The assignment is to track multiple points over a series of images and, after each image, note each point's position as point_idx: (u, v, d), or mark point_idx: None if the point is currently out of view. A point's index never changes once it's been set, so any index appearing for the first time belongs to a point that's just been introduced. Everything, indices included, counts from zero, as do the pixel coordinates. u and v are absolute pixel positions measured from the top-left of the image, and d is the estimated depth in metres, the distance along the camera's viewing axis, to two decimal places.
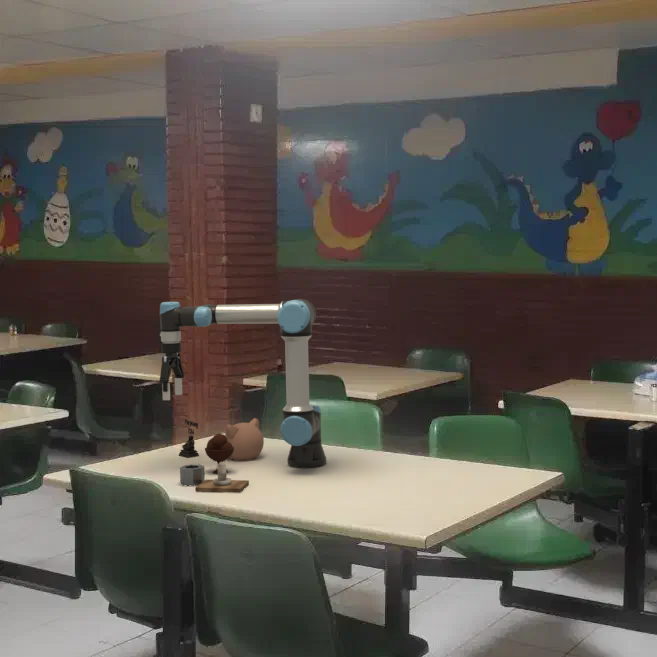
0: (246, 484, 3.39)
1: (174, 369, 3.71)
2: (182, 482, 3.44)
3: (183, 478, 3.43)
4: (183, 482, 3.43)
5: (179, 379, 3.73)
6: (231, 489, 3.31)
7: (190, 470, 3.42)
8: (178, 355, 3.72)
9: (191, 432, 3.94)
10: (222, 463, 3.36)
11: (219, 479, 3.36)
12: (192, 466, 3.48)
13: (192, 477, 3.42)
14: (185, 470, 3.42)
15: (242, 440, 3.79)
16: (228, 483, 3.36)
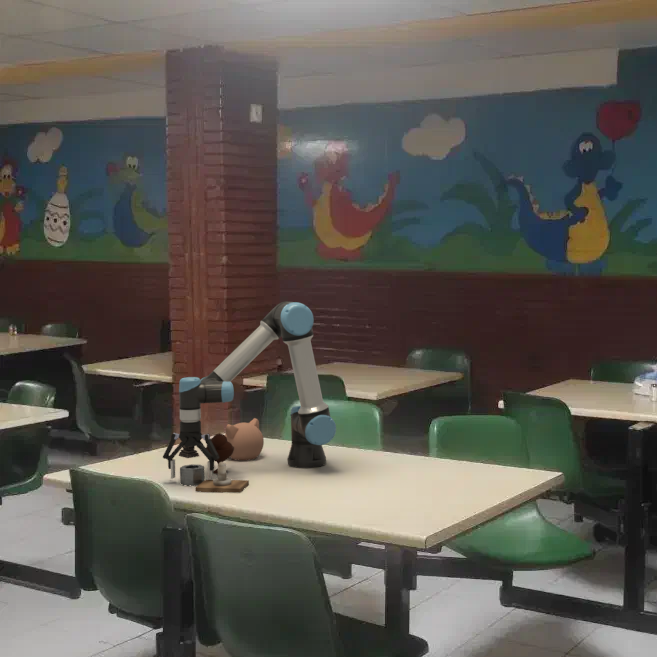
0: (246, 484, 3.39)
1: None
2: (182, 482, 3.44)
3: (183, 478, 3.43)
4: (183, 482, 3.43)
5: None
6: (231, 489, 3.31)
7: (190, 470, 3.42)
8: (205, 436, 3.43)
9: None
10: (222, 463, 3.36)
11: (219, 479, 3.36)
12: (192, 466, 3.48)
13: (192, 477, 3.42)
14: (185, 470, 3.42)
15: (242, 440, 3.79)
16: (228, 483, 3.36)
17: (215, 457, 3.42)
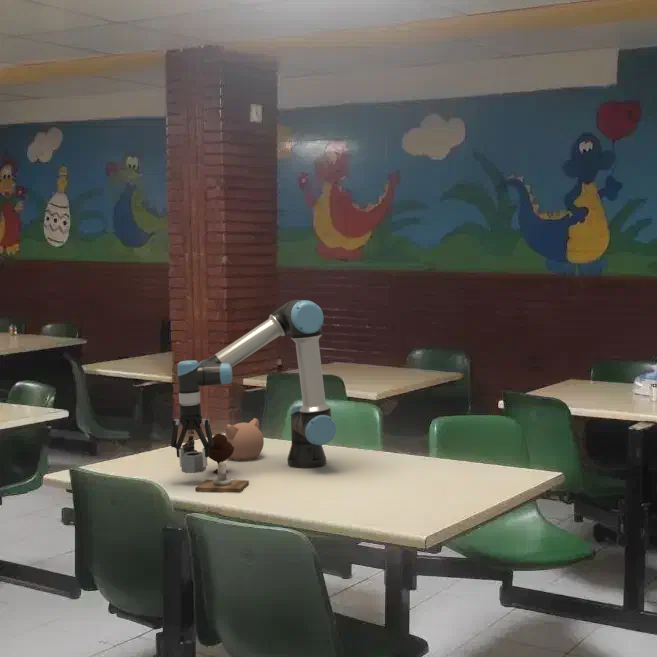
0: (246, 484, 3.39)
1: None
2: (183, 469, 3.44)
3: (184, 465, 3.43)
4: (184, 469, 3.43)
5: None
6: (231, 489, 3.31)
7: (191, 457, 3.41)
8: (205, 421, 3.42)
9: (191, 432, 3.94)
10: (222, 463, 3.36)
11: (219, 479, 3.36)
12: (193, 453, 3.48)
13: (193, 464, 3.41)
14: (186, 457, 3.42)
15: (242, 440, 3.79)
16: (228, 483, 3.36)
17: (210, 444, 3.43)
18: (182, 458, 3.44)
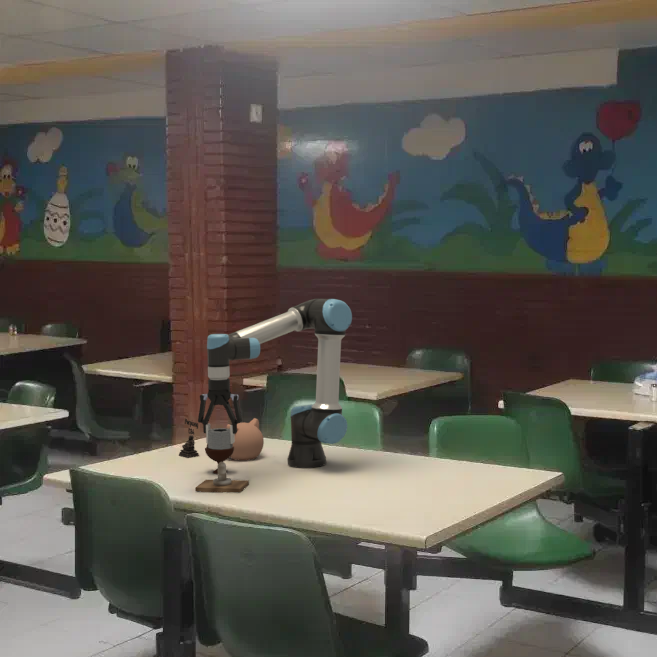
0: (246, 484, 3.39)
1: None
2: (210, 445, 3.34)
3: (211, 441, 3.33)
4: (211, 445, 3.34)
5: None
6: (231, 489, 3.31)
7: (218, 433, 3.32)
8: (234, 397, 3.33)
9: (191, 432, 3.94)
10: (222, 463, 3.36)
11: (219, 479, 3.36)
12: (220, 430, 3.39)
13: (220, 440, 3.32)
14: (213, 433, 3.32)
15: (242, 440, 3.79)
16: (228, 483, 3.36)
17: (238, 420, 3.33)
18: (209, 434, 3.34)
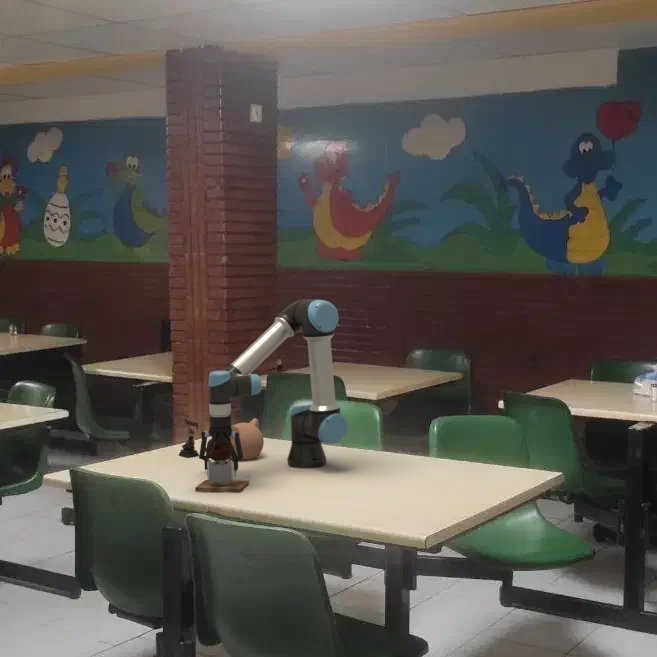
0: (246, 484, 3.39)
1: None
2: (211, 478, 3.35)
3: (212, 474, 3.34)
4: (212, 478, 3.34)
5: None
6: (231, 489, 3.31)
7: (220, 466, 3.33)
8: None
9: (191, 432, 3.94)
10: (222, 463, 3.36)
11: None
12: None
13: (222, 473, 3.33)
14: (214, 466, 3.33)
15: (242, 440, 3.79)
16: (228, 483, 3.36)
17: (239, 457, 3.34)
18: (210, 467, 3.35)
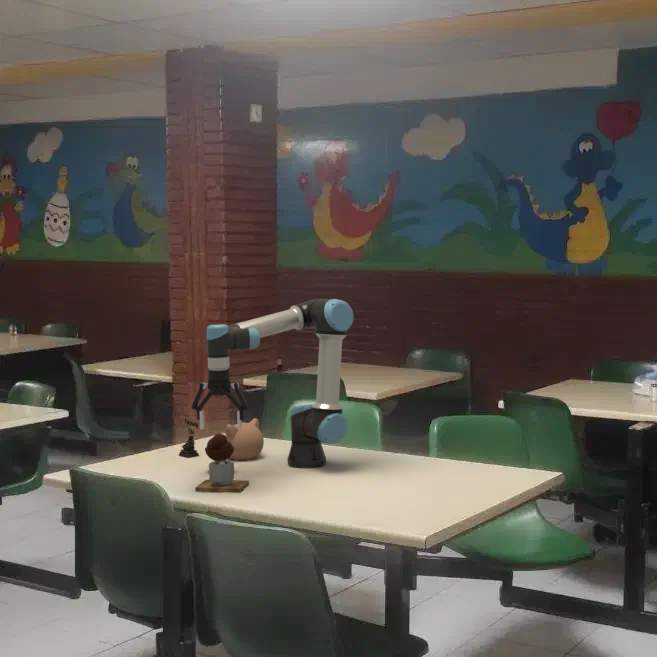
0: (246, 484, 3.39)
1: None
2: (211, 478, 3.35)
3: (212, 474, 3.34)
4: (212, 478, 3.34)
5: None
6: (231, 489, 3.31)
7: (220, 466, 3.33)
8: None
9: (191, 432, 3.94)
10: (222, 463, 3.36)
11: None
12: None
13: (222, 473, 3.33)
14: (214, 466, 3.33)
15: (242, 440, 3.79)
16: (228, 483, 3.36)
17: (245, 406, 3.33)
18: (210, 467, 3.35)
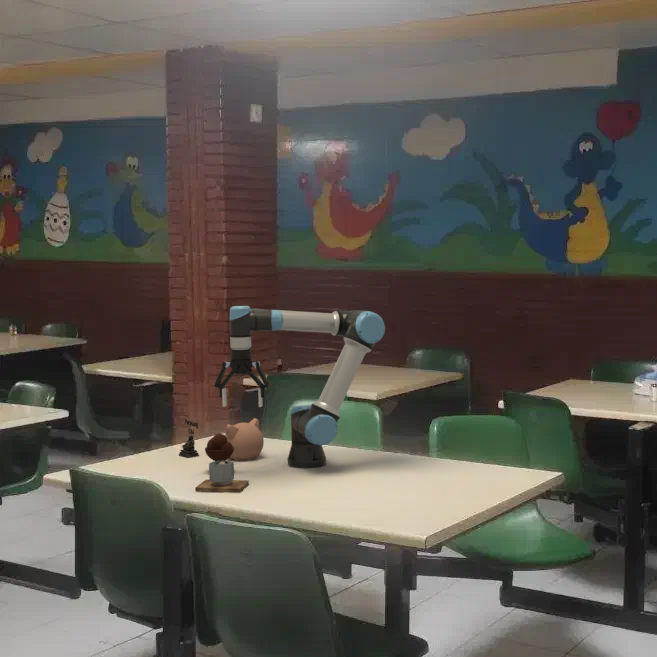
0: (246, 484, 3.39)
1: None
2: (211, 478, 3.35)
3: (212, 474, 3.34)
4: (212, 478, 3.34)
5: None
6: (231, 489, 3.31)
7: (220, 466, 3.33)
8: (256, 364, 3.47)
9: (191, 432, 3.94)
10: (222, 463, 3.36)
11: None
12: None
13: (222, 473, 3.33)
14: (214, 466, 3.33)
15: (242, 440, 3.79)
16: (228, 483, 3.36)
17: (266, 384, 3.46)
18: (210, 467, 3.35)
